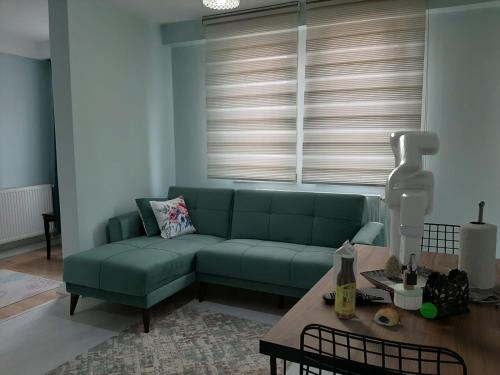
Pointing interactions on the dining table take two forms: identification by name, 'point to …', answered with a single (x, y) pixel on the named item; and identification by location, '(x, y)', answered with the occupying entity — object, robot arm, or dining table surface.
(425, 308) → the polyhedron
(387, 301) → the mat
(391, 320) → the pastry
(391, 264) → the decorative egg
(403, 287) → the lid
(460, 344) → the dining table surface
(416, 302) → the bowl
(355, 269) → the milk carton
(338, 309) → the sauce bottle
